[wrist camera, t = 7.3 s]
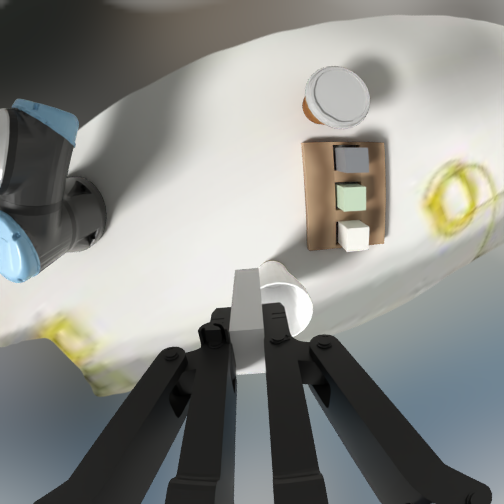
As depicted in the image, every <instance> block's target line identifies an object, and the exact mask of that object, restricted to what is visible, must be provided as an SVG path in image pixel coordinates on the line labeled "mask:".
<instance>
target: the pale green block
mask: <svg viewBox="0 0 504 504" xmlns="http://www.w3.org/2000/svg"><path fill="white" fill-rule="evenodd" d="M335 203H336V206H337V207H338V208H340V209H341V210H343V211H344V212H347V211H362V210H366V187H365V186H362V185H360V184H357V183H343V184H335Z"/></svg>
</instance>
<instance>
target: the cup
mask: <svg viewBox="0 0 504 504" xmlns="http://www.w3.org/2000/svg"><path fill="white" fill-rule="evenodd" d="M259 278H260V288H261V299H262V304H266V303H277V302H280V303H281V304H282V305H283V306H284V307H285V312H286V316H287V321H288V326H289V330H290V334H291V335H292V337H294V336H296V335H297V334H299V333H300V332H302V331H303V330H304V329H305V327H306V326H307V325H308V324H309V322H310V320H311V318H312V313H313V304H312V300H311V298H310V296H309V294H308V292H307V291H306V289H305V288H304V286H303V285H302V284H301V283H300V282H299V281H298V280H297V279H296V278H295V277H294V276H293V275H292V274H290V273H289V272H288V271H287V269H286V268H285V266H284V265H283V264H281V263H280V262H277V261H268V262H265V263H263V264H262V265H261V266H260V267H259Z"/></svg>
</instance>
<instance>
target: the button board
mask: <svg viewBox="0 0 504 504" xmlns="http://www.w3.org/2000/svg"><path fill="white" fill-rule="evenodd" d="M301 145H302V157H303V171H304V186H305V203H306V224H307V247H308V249H309V251H313V250H323V249H334V248H343V247H342V246H341V245H340V244H339V243H338V242H336V222H338V221H351V220H360V221H361V222H363V223H364V224H366V225H367V226H369V245H374V244H384V235H385V207H386V178H385V150H384V143H378V142H311V143H301ZM333 145H355V147H356V148H368V156H369V173H344V172H340V171H337V170H334V159H333ZM356 181H357V184H360V185H362V186H365V187H366V210H362V211H347V212H344V211H343V210H341V209H340V208H336V203H335V182H356Z"/></svg>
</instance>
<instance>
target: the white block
mask: <svg viewBox="0 0 504 504" xmlns="http://www.w3.org/2000/svg"><path fill="white" fill-rule="evenodd" d="M338 243H339V244H340V245H341V246H342V247H343V248H344V249H345V250H346V251H347V252H352V251H361V250H368V249H369V226H367V225H366V224H364V223H363V222H361V221H360V220H351V221H338Z"/></svg>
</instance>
